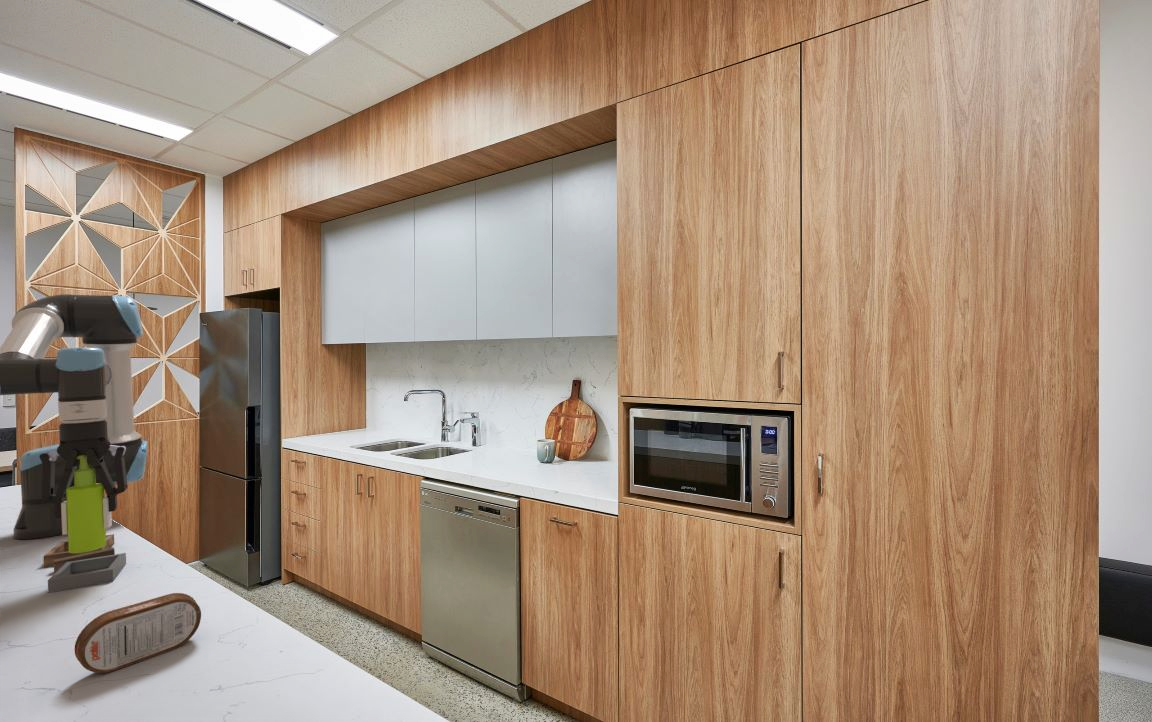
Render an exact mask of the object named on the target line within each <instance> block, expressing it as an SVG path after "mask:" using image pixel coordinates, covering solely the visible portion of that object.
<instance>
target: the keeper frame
mask: <svg viewBox="0 0 1152 722" xmlns="http://www.w3.org/2000/svg"><path fill="white" fill-rule="evenodd" d="M126 555H127V553H126V552H122V553H117V554H116V553H115V555H109V556H103V557H96V558H90V559H84V560H77V561H71V562H66V563H65V564H64V565H63V566H62V567H61V568H60V569H59V570H58V571H57V572H56V573H55V574H53V575H51V577H49V578H48V580H47V591H48V592H47V593H48V594H49V593H54V592H59V591H60V592H61V591H66V590H71V589H76V588H83V587H88V586H94V585H99V584H105V583H109V582H114V581H115V579H116V578H117V577H118V576H119V575H120V573H121V571H122V570H123V569H124V568H125V566H126V565H127V556H126Z"/></svg>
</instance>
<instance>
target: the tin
mask: <svg viewBox="0 0 1152 722" xmlns="http://www.w3.org/2000/svg"><path fill="white" fill-rule="evenodd" d="M201 620H202V610H201V608H200V605H199V604H198V603H197V601H196V600H195V598H194V597H192V596H191V595H188V594H187V593H184V592H174V593H173V592H172V593H167V594H164V595H162V596H158V597H155V598H151V599H148V600H144V601H141V602H138V603H137V602H136V603H133V604H129V605H126V606H123V607H119V608H115V609H112V610H110V611H109V610H108V611H107V612H104V613H102V614H100V615H98V616H97V617H95V618H93V619H92V620H91V621H90V622H89V623H88V624H86V626H84V627H83V628H82V630H81V632H80V633H79V634H78V636H77V638H76V640H75V644H74V656H75V657H76V659H77V661H78V662H79V664H81V666H82V667H83V668H84V669H86V670H87V671H89V672H92V673H98V674H106V673H111V672H115V671H117V670H121V669H123V668H127V667H129V666H131V665H134V664H137V663H139V662H143V661H146V660H148V659H151V658H155V657H157V656H159V655H162V654H165V653H168V652H171V651H173V650H176V649H178V648H180V647H181V646H183V645H184V644H186V643H187V642H188V641H189V640H190V639H191V638H192V637H193V636H194V635H195V633H196V632H197V630H198V628H199V627H200V624H201Z"/></svg>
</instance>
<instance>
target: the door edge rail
mask: <svg viewBox="0 0 1152 722" xmlns="http://www.w3.org/2000/svg"><path fill="white" fill-rule="evenodd" d="M115 554H116V553H115V548H114V547H113V546H112V547H111V548H108V549H103V550H98V551H93V552H89V553H84V554H79V555H75V556H70V557H65V558H61V559H56V560H54V566H53V573H54V574H55V573H56V572H57V571H58V570H59V569H60V568H61V567H62V566H63V565H64V564H65V563H66V562H71V561H77V560H84V559H90V558H96V557H103V556H109V555H115ZM54 574H53V575H54Z"/></svg>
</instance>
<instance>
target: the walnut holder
mask: <svg viewBox="0 0 1152 722" xmlns="http://www.w3.org/2000/svg"><path fill="white" fill-rule="evenodd" d="M114 545H115V534H114V533H113V534H106V546H105V547H103V548H100V549H98V550H103V549H108V548H112V547H113V546H114ZM98 550H94V551H98ZM90 552H93V551H90ZM85 553H89V552H85ZM79 554H84V553H76V554H72V553H69V545H68V540H65V541H60V542H59V543H57V544H55V546H54V547H52V548H51V549H50V550H49V551H48V552H47V553H45V554H44V555H43V557H42V558H43V560H42V561H43V568H48V567H54V560H56V559H61V558H65V557H70V556H75V555H79Z"/></svg>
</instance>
